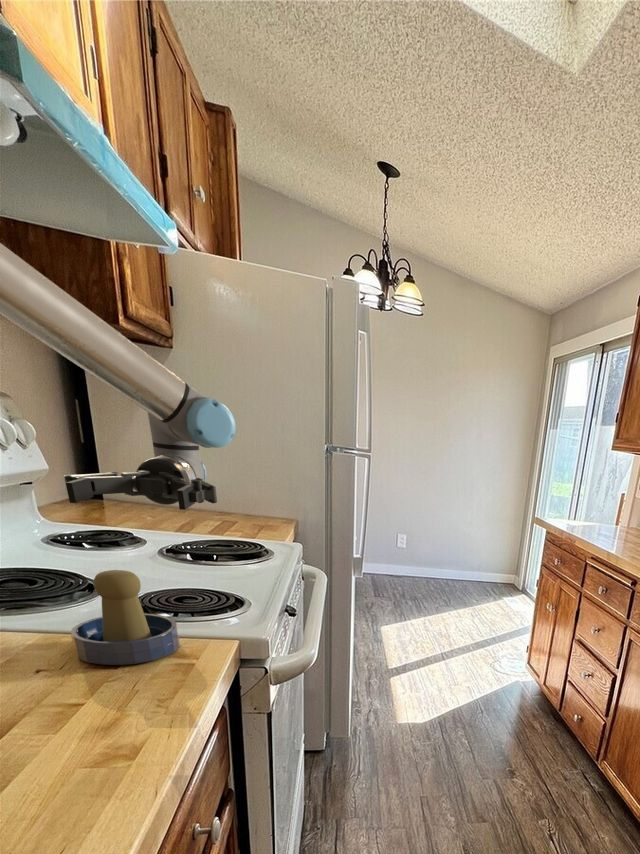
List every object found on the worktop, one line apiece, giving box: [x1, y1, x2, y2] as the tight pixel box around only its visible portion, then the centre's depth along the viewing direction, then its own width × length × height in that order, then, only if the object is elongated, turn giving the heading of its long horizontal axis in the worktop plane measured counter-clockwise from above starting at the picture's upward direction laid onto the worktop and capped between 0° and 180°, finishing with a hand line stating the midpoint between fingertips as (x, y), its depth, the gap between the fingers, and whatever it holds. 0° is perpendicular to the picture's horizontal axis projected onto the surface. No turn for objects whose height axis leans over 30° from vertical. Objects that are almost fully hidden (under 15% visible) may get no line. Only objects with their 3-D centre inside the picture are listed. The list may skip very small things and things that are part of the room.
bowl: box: [70, 613, 180, 666], centre depth 78 cm, size 12×12×4 cm
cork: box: [93, 569, 152, 642], centre depth 76 cm, size 6×6×11 cm
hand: (127, 496), depth 79 cm, fingers open, 13 cm apart
